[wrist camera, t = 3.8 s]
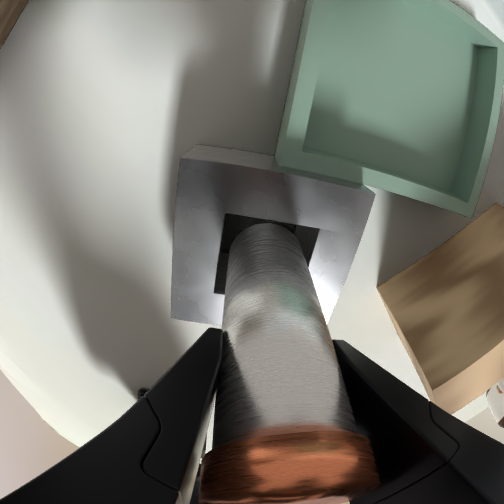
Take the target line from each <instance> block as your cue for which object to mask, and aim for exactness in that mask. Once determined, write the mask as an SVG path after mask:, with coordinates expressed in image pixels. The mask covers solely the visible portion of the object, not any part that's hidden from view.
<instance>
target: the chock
mask: <svg viewBox="0 0 504 504" xmlns="http://www.w3.org/2000/svg"><path fill="white" fill-rule="evenodd" d="M376 288H377V290H378V292H379V294H380V296H381V298H382V300H383V302H384V305H385V307H386V309H387V311H388V313H389V316H390V318H391V320H392V322H393V325H394V327H395V329H396V331H397V334H398V336H399V337H400V339H401V341H402V343H403V345H404V347H405V349H406V351H407V353H408V355H409V357H410V359H411V361H412V363H413V365H414V367H415V369H416V371H417V373H418V375H419V377H420V379H421V381H422V383H423V386H424V388H425V390H426V392H427V394H428V396H429V399H430V401H431V402H433V403H434V404H436V405H437V406H438V407H440V408H441V409H443V410H444V411H446V412H448V413H449V414H451V415H452V414H453V413H455V412H456V411H458V410H460V409H461V408H463V407H464V406H466V405H467V404H469V403H470V402H472V401H473V400H475V399H476V398H477V397H479V396H480V395H482V394H483V393H484V392H486V391H487V390H488V389H490V388H491V387H492V386H494V385H495V384H496V383H498V382H499V381H500V380H501V379H503V378H504V207H502V206H501V205H499V204H497V203H495V204H494V205H493V206H492V207H490V208H489V209H488V210H487V211H486V212H484V213H483V214H482V215H481V216H479V217H478V218H477V219H475V220H474V221H473V222H472V223H470V224H469V225H468V226H466V227H465V228H464V229H462V230H461V231H460V232H458V233H457V234H456V235H454V236H453V237H452V238H450V239H449V240H447V241H446V242H445V243H443V244H442V245H440V246H439V247H438V248H436V249H435V250H433V251H432V252H430V253H429V254H427V255H426V256H425V257H423V258H422V259H420V260H419V261H417V262H416V263H414V264H413V265H411V266H410V267H408V268H407V269H405V270H403V271H402V272H400V273H399V274H397V275H396V276H394V277H392V278H391V279H389V280H388V281H386V282H385V283H383V284H381V285H380V286H378V287H376Z"/></svg>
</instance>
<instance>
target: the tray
mask: <svg viewBox="0 0 504 504" xmlns="http://www.w3.org/2000/svg"><path fill="white" fill-rule="evenodd" d="M503 82H504V42H502V41H501V40H500V39H499V38H498V37H497V36H496V35H495V34H493V33H492V32H491V31H490V30H489V29H487V28H486V27H485V26H484V25H482V24H481V23H480V22H479V21H477V20H476V19H475V18H474V17H472V16H471V15H470V14H468V13H467V12H465V11H464V10H463V9H461V8H460V7H458V6H457V5H455V4H454V3H452V2H451V1H449V0H306V2H305V7H304V12H303V17H302V22H301V27H300V32H299V37H298V42H297V47H296V52H295V57H294V62H293V67H292V72H291V77H290V82H289V87H288V92H287V97H286V102H285V107H284V112H283V117H282V122H281V127H280V132H279V136H278V141H277V146H276V151H275V158H276V160H277V162H278V163H279V165H280V166H285V167H290V168H295V169H300V170H304V171H309V172H314V173H318V174H323V175H327V176H331V177H336V178H340V179H344V180H348V181H352V182H356V183H360V184H364V185H367V186H371V187H375V188H378V189H382V190H386V191H389V192H393V193H396V194H399V195H403V196H406V197H409V198H412V199H416V200H419V201H422V202H425V203H428V204H431V205H434V206H437V207H440V208H443V209H446V210H449V211H452V212H454V213H457V214H460V215H463V216H465V217H468V218H472V216H473V213H474V210H475V207H476V204H477V201H478V198H479V195H480V192H481V189H482V186H483V183H484V179H485V176H486V172H487V169H488V165H489V161H490V157H491V153H492V149H493V145H494V140H495V135H496V131H497V125H498V120H499V114H500V107H501V100H502V92H503Z"/></svg>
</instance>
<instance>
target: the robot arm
mask: <svg viewBox="0 0 504 504" xmlns="http://www.w3.org/2000/svg"><path fill="white" fill-rule="evenodd" d="M332 342H333V346H334V349H335V352H336V356H337V359H338V362H339V366H340V369H341V373H342V376H343V379H344V383H345V387H346V390H347V394H348V397H349V401H350V405H351V408H352V412H353V416H354V420H355V423H356V427H357V431H358V434H360V435H363V436H365V437H367V438H368V439H369V440H370V444H371V447H372V451H373V455H374V459H375V463H376V467H377V471H378V475H379V479H380V485H379V486H378V487H377V488H376V489H374V490H373V491H371V492H369V493H367V494H365V495H363V496H361V497H358V498H356V499H353V500H351V501H349V502H350V504H504V444H502V443H500V442H499V441H497V440H495V439H493V438H491V437H489V436H487V435H486V434H484V433H482V432H480V431H478V430H476V429H475V428H473V427H471V426H469V425H467V424H466V423H464V422H462V421H461V420H459V419H457V418H456V417H454V416H452V415H451V414H449V413H448V412H446V411H444V410H443V409H441V408H440V407H438V406H437V405H436V404H434V403H433V402H431V401H429V402H428V399H426V398H425V397H423V396H422V395H420V394H419V393H417V392H416V391H415V390H413V389H412V388H410V387H409V386H407V385H406V384H405V383H403V382H402V381H400V380H399V379H397V378H396V377H395V376H393V375H392V374H390V373H389V372H388V371H386V370H385V369H383V368H382V367H380V366H379V365H378V364H376V363H375V362H373V361H372V360H371V359H369V358H368V357H366V356H365V355H364V354H362V353H361V352H359V351H358V350H357V349H355V348H354V347H352V346H351V345H350V344H348V343H347V342H345V341H344V340H332ZM222 347H223V330H222V329H217V328H208V329H207V330H206V331H205V332H204V333H203V334H202V336H201V337H200V338H199V339H198V340H197V341H196V342H195V343H194V344H193V345H192V346H191V347H190V348H189V349H188V350H187V351H186V352H185V353H184V354H183V355H182V356H181V357H180V359H179V360H178V361H177V362H176V363H175V364H174V365H173V366H172V367H171V368H170V369H169V370H168V371H167V372H166V373H165V374H164V375H163V376H162V377H161V378H160V379H159V380H158V381H157V382H156V383H155V384H154V385H153V386H152V387H151V388H150V389H149V390H148V391H147V390H142V389H140V390H139V391H138V398H139V400H138V401H137V402H136V403H135V404H134V405H133V406H132V407H131V408H130V409H129V410H128V411H127V412H126V413H124V414H123V415H122V416H121V417H120V418H119V419H118V420H116V421H115V422H114V423H113V424H111V425H110V426H109V427H108V428H106V429H105V430H104V431H102V432H101V433H100V434H98V435H97V436H95V437H94V438H93V439H91V440H90V441H89V442H87V443H86V444H84V445H83V446H81V447H80V448H79V449H77V450H76V451H75V452H73V453H72V454H70V455H69V456H67V457H66V458H64V459H63V460H61V461H60V462H58V463H57V464H55V465H54V466H52V467H51V468H49V469H48V470H46V471H45V472H43V473H42V474H40V475H39V476H37V477H36V478H34V479H33V480H31V481H29V482H28V483H26V484H25V485H23V486H21V487H20V488H19V489H17V490H15V491H13V492H12V493H10V494H8V495H7V496H5V497H3V498H2V499H0V504H199V488H200V474H201V464H199V463H200V458H203V456H204V455H205V450H206V438H207V430H208V426H209V422H210V418H211V414H212V409H213V405H214V401H215V396H216V388H217V382H218V377H219V371H220V365H221V359H222Z"/></svg>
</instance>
